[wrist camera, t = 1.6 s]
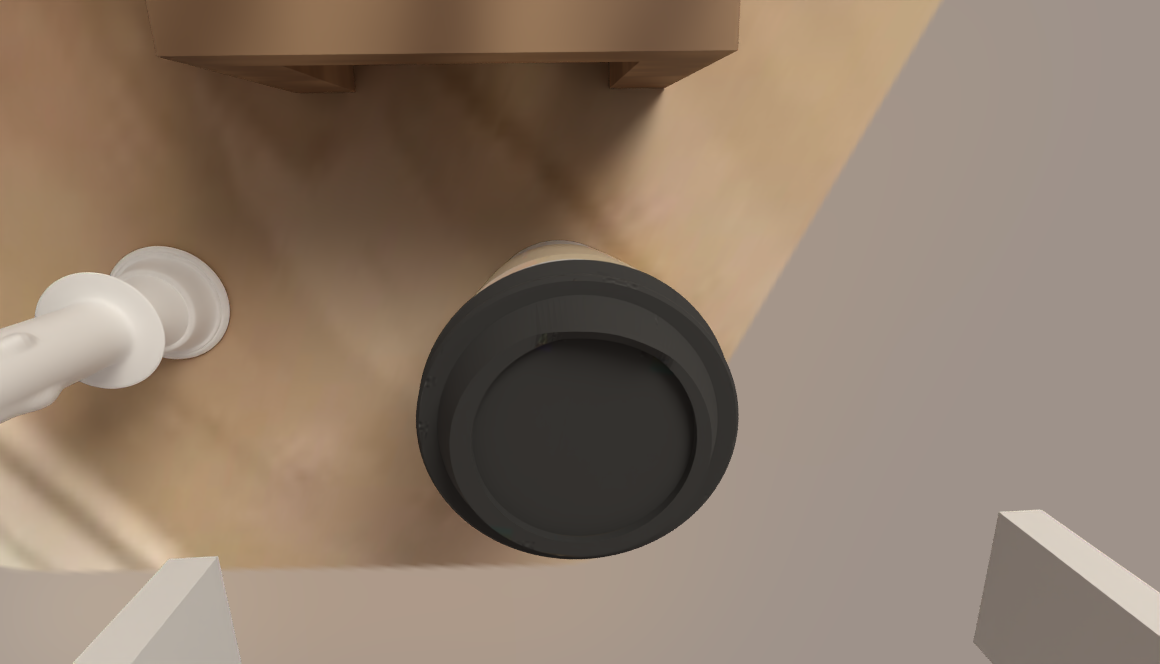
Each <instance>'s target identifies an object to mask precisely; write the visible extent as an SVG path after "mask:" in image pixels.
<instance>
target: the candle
mask: <svg viewBox="0 0 1160 664" xmlns="http://www.w3.org/2000/svg"><path fill="white" fill-rule="evenodd" d="M229 318H230V305H229V299H228V296H227V293H226V290H225V288H224V286H223V284H222V282H221V281H220V279H219V278H218V276H217V275H216V274H215V272H214V271H213V270H212V269H211V268H210V267H209V266H208V265H207V264H205V263H204V262H203V261H202V260H200V259H199V258H197V257H195V256H194V255H192V254H190V253H188V252H185V251H183V250H180V249H177V248H172V247H166V246H150V247H145V248H141V249H138V250H135V251H133V252H131V253H129V254H128V255H126V256H125V257H123V258H122V259H121V260H120V261H119V262H118V263H117V264H116V265H115V267H114V268H113V270H112V272H111V274H110V275H106V274H101V273H94V272H83V273H75V274H71V275H68V276H65V277H63V278H60V279H59V280H57V281H55V282H54V283H52V284H51V285H50V286H49V287H48V288H47V289H46V290H45V291H44V293H43V294H42V295H41V297H40V299H39V301H38V304H37V307H36V311H35V318H32V319H29V320H26V321H23V322H20V323H17V324H13V325H10V326H7V327H4V328H1V329H0V423H3V422H5V421H7V420H9V419H11V418H13V417H16V416H19V415H23V414H26V413H30V412H33V411H37V410H40V409H43V408H45V407H47V406H49V405H51V404H52V403H53V402H54V401H55V400H56V399H57V397H58V396H59V394H60V393H61V391H62V390H63V389H64V388H66V387H68V386H70V385H72V384H74V383H76V382H78V381H80V382H82V383H84V384H87V385H90V386H94V387H99V388H107V389H117V388H124V387H129V386H132V385H135V384H137V383H139V382H141V381H143V380H145V379H146V378H147V377H149V376H150V375H151V374H152V373H153V372H154V371H155V370H156V368H157V367H158V365H159V364H160V362H161V360H162V357H163V358H169V359H187V358H192V357H196V356H199V355H201V354H203V353H205V352H207V351H209V350H210V349H212V348H213V347H214V346H215V345H216V344H217V343H218V342H219V341H220V340H221V338H222V337H223V335H224V334H225V332H226V329H227V327H228V323H229Z"/></svg>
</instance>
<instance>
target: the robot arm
mask: <svg viewBox="0 0 1160 664" xmlns="http://www.w3.org/2000/svg"><path fill="white" fill-rule="evenodd" d="M973 642H974V643H975V644H976V646H977V647H978V648H979V649H980V650H981V651H982V652H983V653H984V654H985V655H986V657H987V658H988V659H989V660H990V661H991V662H992V663H993V664H1160V593H1159V592H1158V591H1156V590H1155V589H1153V588H1152V587H1151V586H1149V585H1148V584H1146V583H1145V582H1143V581H1142V580H1140V579H1139V578H1138V577H1136V576H1135V575H1133V574H1132V573H1131V572H1129V571H1128V570H1126V569H1125V568H1123V567H1122V566H1121V565H1119V564H1118V563H1116V562H1115V561H1114V560H1112V559H1111V558H1109V557H1108V556H1106V555H1105V554H1104V553H1102V552H1101V551H1099V550H1098V549H1096V548H1095V547H1094V546H1092V545H1091V544H1089V543H1088V542H1087V541H1085V540H1084V539H1082V538H1081V537H1079V536H1078V535H1077V534H1075V533H1074V532H1072V531H1071V530H1069V529H1068V528H1067V527H1065V526H1064V525H1062V524H1061V523H1059V522H1058V521H1057V520H1055V519H1054V518H1052V517H1051V516H1049V515H1048V514H1047V513H1045V512H1044V511H1042V510H1025V511H1008V512H999V514H998V519H997V524H996V529H995V534H994V539H993V545H992V550H991V555H990V560H989V565H988V570H987V575H986V580H985V585H984V591H983V595H982V601H981V605H980V611H979V616H978V621H977V626H976V631H975V636H974V641H973ZM72 664H242V663H241V658H240V654H239V650H238V645H237V641H236V636H235V631H234V627H233V622H232V618H231V613H230V608H229V604H228V599H227V595H226V590H225V586H224V581H223V576H222V572H221V567H220V563H219V558H218V556H212V557H194V558H177V559H168V560H167V561H166V563H165V564H164V565H163V566H162V567H161V568H160V569H159V570H158V571H157V572H156V573H155V574H154V576H153V577H152V578H151V579H150V580H149V581H148V582H147V583H146V584H145V585H144V586H143V587H142V589H141V590H140V591H139V592H138V593H137V594H136V595H135V596H134V597H133V598H132V599H131V600H130V602H129V603H128V604H127V605H126V606H125V607H124V608H123V609H122V610H121V611H120V612H119V613H118V615H117V616H116V617H115V618H114V619H113V620H112V621H111V622H110V623H109V624H108V625H107V627H106V628H105V629H104V630H103V631H102V632H101V633H100V634H99V635H98V636H97V637H96V638H95V640H94V641H93V642H92V643H91V644H90V645H89V646H88V647H87V648H86V649H85V650H84V651H83V652H82V654H81V655H80V656H79V657H78V658H77V659H76V660H75V661H74V662H73V663H72Z"/></svg>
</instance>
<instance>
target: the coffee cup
mask: <svg viewBox="0 0 1160 664" xmlns="http://www.w3.org/2000/svg"><path fill="white" fill-rule="evenodd" d="M416 429H417V438H418V443H419V448H420V452H421V456H422V459H423V462H424V464H425V467H426V469H427V472H428V474H429V476H430V478H431V480H432V481H433V483H434V485H435V486H436V488H437V490H438V491H439V493H440V494H441V495H442V497H443V498H444V499H445V501H446V502H447V503H448V504H449V505H450V506H451V508H452V509H453V510H454V511H455V512H456V513H457V514H458V515H459V516H461V517H462V518H463V519H464V520H465V521H466V522H468V523H469V524H470V525H471V526H473V527H474V528H475V529H477V530H478V531H480V532H481V533H483V534H485V535H486V536H488V537H490V538H492V539H493V540H495V541H497V542H500V543H502V544H504V545H506V546H509V547H511V548H514V549H517V550H520V551H523V552H526V553H530V554H534V555H539V556H544V557H551V558H560V559H591V558H600V557H606V556H611V555H616V554H620V553H624V552H627V551H631V550H633V549H636V548H639V547H642V546H644V545H647V544H649V543H651V542H653V541H655V540H657V539H659V538H661V537H663V536H665V535H666V534H668V533H670V532H671V531H673V530H674V529H676V528H677V527H678V526H680V525H681V524H682V523H684V522H685V521H686V520H687V519H689V518H690V517H691V516H692V515H693V514H694V513H695V512H696V511H697V510H698V509H699V508H700V507H701V506H702V505H703V504H704V503H705V502H706V501H707V499H708V498H709V497H710V496H711V494H712V493H713V491H714V490H715V489H716V487H717V485H718V484H719V482H720V481H721V479H722V477H723V475H724V473H725V471H726V469H727V467H728V464H729V462H730V459H731V457H732V454H733V450H734V446H735V442H736V437H737V430H738V401H737V394H736V389H735V385H734V381H733V378H732V375H731V372H730V369H729V367H728V364H727V362H726V360H725V358H724V355H723V353H722V350H721V348H720V346H719V343H718V341H717V339H716V337H715V335H714V334H713V332H712V330H711V329H710V327H709V326H708V324H707V323H706V321H705V320H704V319H703V317H702V316H701V315H700V314H699V312H698V311H697V310H696V309H695V308H694V307H693V306H692V305H691V304H690V303H689V302H688V301H687V300H686V299H685V298H684V297H683V296H681V295H680V294H679V293H678V292H676V291H675V290H674V289H672V288H671V287H669V286H668V285H666V284H665V283H663V282H661V281H660V280H658V279H656V278H654V277H652V276H650V275H648V274H646V273H644V272H641V271H639V270H637V269H636V268H634V267H632V266H630V265H628V264H626V263H624V262H622V261H620V260H618V259H616V258H614V257H612V256H610V255H608V254H606V253H604V252H601V251H599V250H596V249H593V248H591V247H589V246H587V245H584V244H581V243H577V242H572V241H564V240H554V241H546V242H541V243H538V244H535V245H532V246H530V247H527V248H525V249H524V250H522V251H520V252H519V253H517V254H516V255H514V256H513V257H512V258H511V259H510V260H509V261H508V262H506V263H505V264H504V265H502V266H501V267H500V268H499V269H498V270H497V271H496V272H495V273H494V274H493V275H492V276H491V277H490V278H489V280H488V281H487V282H486V283H485V284H484V285H483V287H482V288H481V289H480V290H479V291H478V292H477V293H476V295H475V296H474V297H473V298H471V299H470V300H469V301H468V302H467V303H466V304H465V305H464V306H463V307H462V308H461V309H460V310H459V311H458V312H457V313H456V314H455V315H454V316H453V317H452V319H451V320H450V321H449V322H448V324H447V325H446V326H445V328H444V329H443V331H442V332H441V334H440V335H439V337H438V339H437V340H436V342H435V344H434V346H433V348H432V350H431V352H430V354H429V357H428V359H427V362H426V365H425V368H424V371H423V375H422V379H421V384H420V390H419V395H418V401H417V410H416Z"/></svg>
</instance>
